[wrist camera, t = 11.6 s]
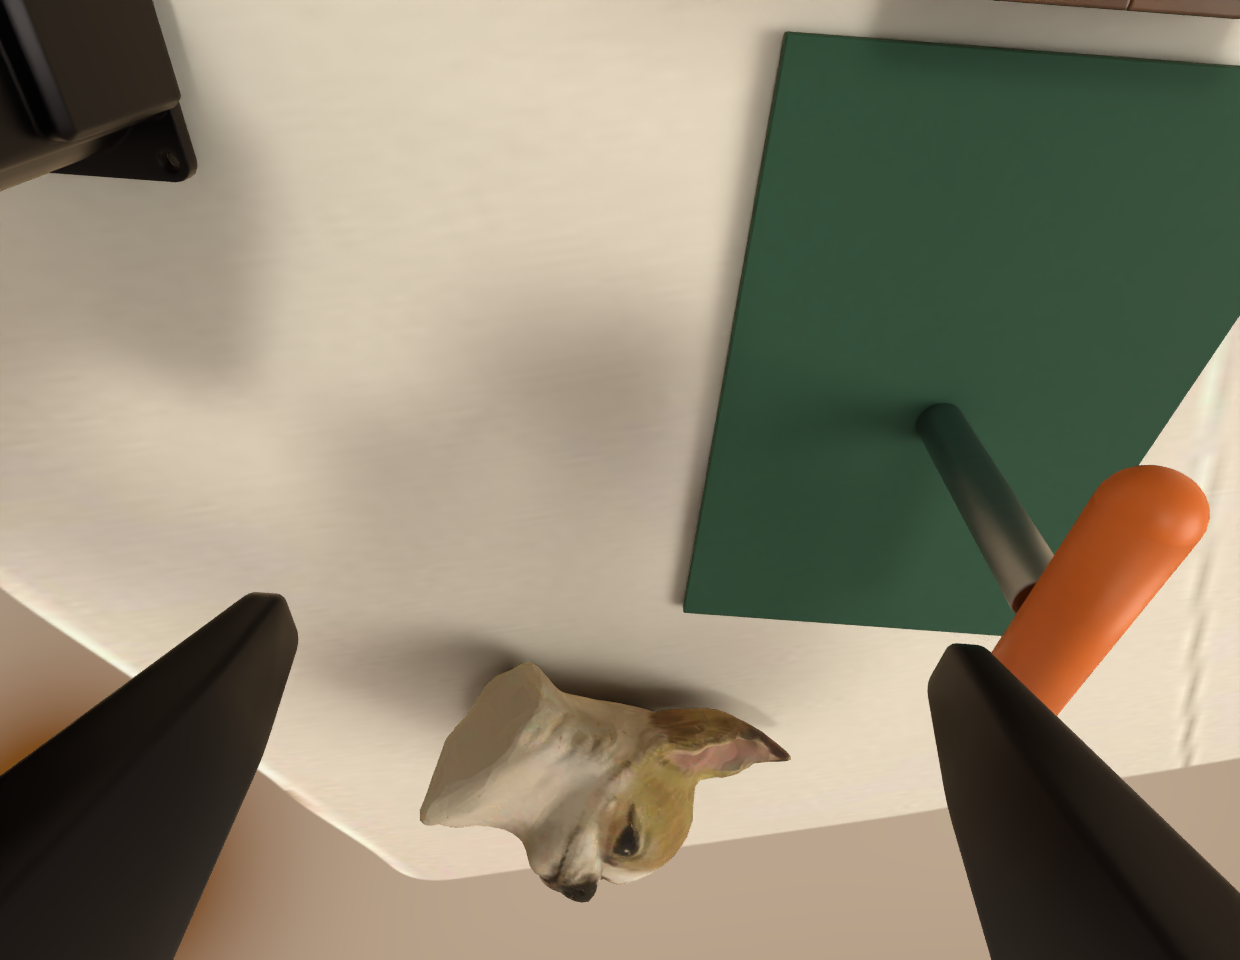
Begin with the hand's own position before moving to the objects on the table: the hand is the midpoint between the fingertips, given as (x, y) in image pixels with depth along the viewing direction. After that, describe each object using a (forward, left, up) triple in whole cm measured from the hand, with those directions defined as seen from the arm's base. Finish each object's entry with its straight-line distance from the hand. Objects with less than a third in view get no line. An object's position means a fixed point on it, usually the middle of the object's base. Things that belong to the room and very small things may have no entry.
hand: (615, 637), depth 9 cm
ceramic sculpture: (0, -22, -13) cm, 26 cm away
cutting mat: (+10, -4, -13) cm, 17 cm away
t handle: (+10, -4, -13) cm, 17 cm away
